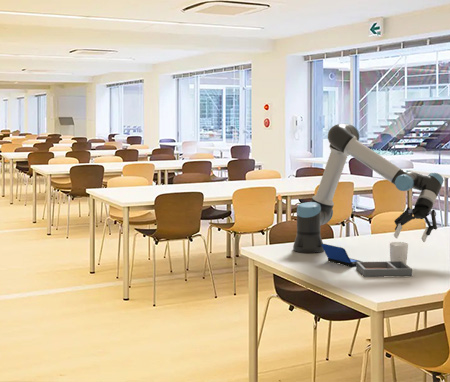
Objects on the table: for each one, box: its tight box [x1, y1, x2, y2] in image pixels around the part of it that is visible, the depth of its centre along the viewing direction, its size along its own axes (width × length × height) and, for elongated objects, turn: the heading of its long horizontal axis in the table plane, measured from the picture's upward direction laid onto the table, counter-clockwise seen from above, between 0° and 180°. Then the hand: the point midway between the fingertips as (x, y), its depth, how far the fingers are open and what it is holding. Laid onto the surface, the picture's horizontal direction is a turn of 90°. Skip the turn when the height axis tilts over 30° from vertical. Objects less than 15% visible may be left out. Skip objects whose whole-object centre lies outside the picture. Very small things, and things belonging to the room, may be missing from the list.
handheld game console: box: [322, 243, 364, 268], centre depth 300 cm, size 16×13×9 cm
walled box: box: [355, 260, 413, 278], centre depth 282 cm, size 20×15×3 cm
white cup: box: [389, 241, 409, 265], centre depth 295 cm, size 8×8×10 cm
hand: (409, 238), depth 299 cm, fingers open, 13 cm apart
